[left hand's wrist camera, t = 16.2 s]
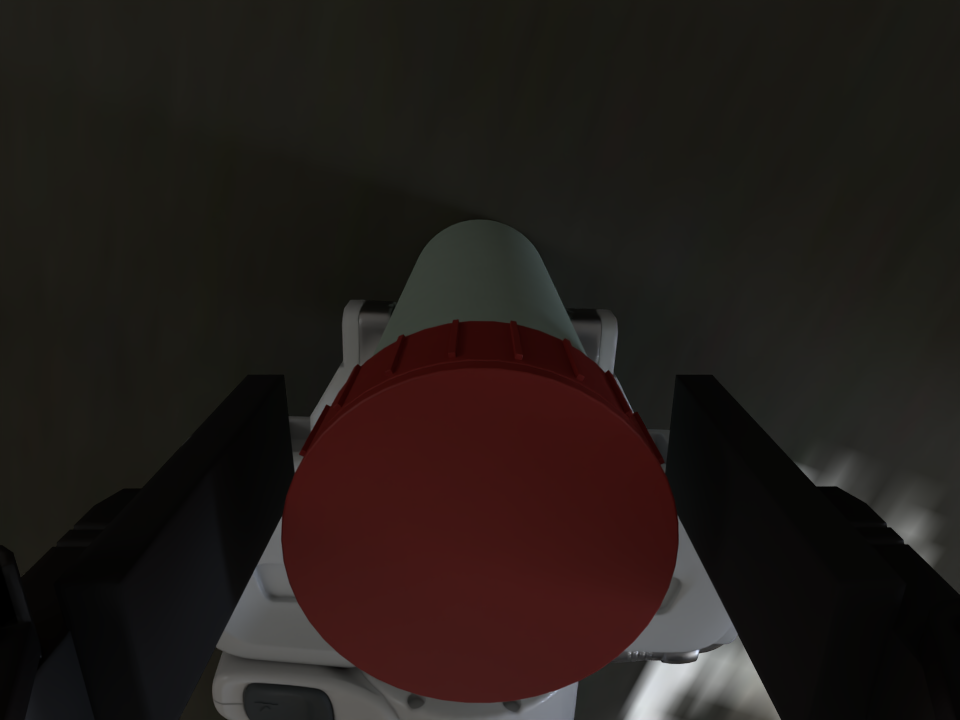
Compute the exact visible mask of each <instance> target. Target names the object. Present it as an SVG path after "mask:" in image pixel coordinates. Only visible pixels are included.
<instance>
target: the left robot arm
mask: <svg viewBox="0 0 960 720" xmlns="http://www.w3.org/2000/svg"><path fill="white" fill-rule="evenodd" d="M294 474H295V469H294V460H293V452H292V443H291V434H290V425H289V416H288V407H287V398H286V389H285V380H284V375H247V376H246V377H245V379H244V380H243V381H242V382H241V383H240V384H239V385H238V386H237V387H236V388H235V389H234V390H233V391H232V393H231V394H230V395H229V396H228V397H227V398H226V399H225V400H224V401H223V402H222V403H221V404H220V405H219V406H218V408H217V409H216V410H215V411H214V412H213V413H212V414H211V415H210V416H209V417H208V418H207V419H206V420H205V421H204V423H203V424H202V425H201V426H200V427H199V428H198V429H197V430H196V431H195V432H194V433H193V434H192V435H191V436H190V438H189V439H188V440H187V441H186V442H185V443H184V444H183V445H182V446H181V447H180V448H179V449H178V450H177V451H176V453H175V454H174V455H173V456H172V457H171V458H170V459H169V460H168V461H167V462H166V463H165V464H164V465H163V467H162V468H161V469H160V470H159V471H158V472H157V473H156V474H155V475H154V476H153V477H152V478H151V479H150V480H149V482H148V483H147V484H146V485H145V486H144V487H143V488H142V489H122V490H121V491H119V492H117V493H116V494H114V495H112V496H110V497H109V498H107V499H105V500H103V501H102V502H100V503H98V504H96V505H95V506H94V507H93V508H91V509H90V510H89V511H88V512H87V513H86V514H85V515H84V516H83V517H82V518H81V519H80V520H79V521H78V522H77V523H76V524H75V525H74V529H73V530H69V531H68V532H67V533H66V534H65V535H64V536H63V537H62V538H61V539H60V540H59V541H58V542H57V546H56V547H52V548H51V549H50V550H49V551H48V552H47V553H46V554H45V555H44V556H43V557H42V558H41V559H40V560H39V561H38V562H37V563H36V564H35V565H34V566H33V567H32V568H31V569H30V570H29V571H27V572H26V573H25V574H24V575H23V576H22V577H20V574H19V571H18V567H17V564H16V560H15V557H14V554H13V552H11V551H10V550H8V549H7V548H6V547H4V546H2V545H0V720H179V718H180V716H181V714H182V712H183V710H184V708H185V706H186V704H187V703H188V701H189V699H190V697H191V695H192V693H193V691H194V689H195V687H196V685H197V683H198V681H199V679H200V677H201V675H202V673H203V671H204V669H205V667H206V665H207V663H208V661H209V659H210V657H211V655H212V653H213V651H214V649H215V647H216V645H217V643H218V641H219V639H220V637H221V635H222V634H223V632H224V630H225V628H226V626H227V624H228V622H229V620H230V618H231V616H232V614H233V612H234V610H235V608H236V606H237V604H238V602H239V600H240V598H241V596H242V594H243V592H244V590H245V588H246V586H247V584H248V582H249V580H250V578H251V576H252V574H253V572H254V570H255V568H256V567H257V565H258V563H259V561H260V559H261V557H262V555H263V553H264V551H265V549H266V547H267V545H268V543H269V541H270V539H271V537H272V535H273V533H274V531H275V529H276V527H277V525H278V523H279V521H280V519H281V517H282V515H283V510H284V505H285V500H286V495H287V493H288V490H289V487H290V485H291V482H292V479H293V477H294ZM665 474H666V476H667V478H668V481H669V484H670V487H671V490H672V493H673V496H674V499H675V504H676V510H677V515H678V517H679V519H680V521H681V523H682V525H683V527H684V529H685V531H686V533H687V535H688V537H689V539H690V541H691V543H692V545H693V547H694V549H695V551H696V553H697V555H698V557H699V559H700V561H701V563H702V565H703V567H704V568H705V570H706V572H707V574H708V576H709V578H710V580H711V582H712V584H713V586H714V588H715V590H716V592H717V594H718V596H719V598H720V600H721V602H722V604H723V606H724V608H725V610H726V612H727V614H728V616H729V618H730V620H731V622H732V624H733V626H734V628H735V630H736V632H737V634H738V636H739V637H740V639H741V641H742V643H743V645H744V647H745V649H746V651H747V653H748V655H749V657H750V659H751V661H752V663H753V665H754V667H755V669H756V671H757V673H758V675H759V677H760V679H761V681H762V683H763V685H764V687H765V689H766V691H767V693H768V695H769V697H770V699H771V701H772V703H773V704H774V706H775V708H776V710H777V712H778V714H779V716H780V718H781V720H960V595H959V594H958V593H957V592H956V591H955V590H954V589H953V588H952V587H951V586H950V585H949V584H948V583H947V582H946V581H945V580H944V579H943V578H942V577H941V576H940V575H939V574H938V573H937V572H936V571H935V570H934V569H933V568H932V567H931V566H930V565H929V564H928V563H927V562H926V561H925V560H924V559H922V558H921V557H920V556H919V555H918V554H917V553H916V552H915V551H914V550H913V549H912V548H911V547H910V546H909V545H908V544H904V540H903V539H902V538H901V537H900V536H899V535H898V534H897V533H896V532H895V531H894V530H893V529H892V528H891V527H887V523H886V522H885V521H884V520H883V519H882V518H881V517H880V516H878V515H877V514H876V513H875V512H874V511H873V510H872V509H871V508H870V507H869V506H868V505H867V504H866V503H864V502H863V501H861V500H859V499H857V498H856V497H854V496H852V495H850V494H849V493H847V492H845V491H843V490H842V489H840V488H838V487H816V486H815V485H814V484H813V483H812V482H811V480H810V479H809V478H808V477H807V476H806V475H805V474H804V473H803V472H802V471H801V470H800V469H799V468H798V467H797V465H796V464H795V463H794V462H793V461H792V460H791V459H790V458H789V457H788V456H787V455H786V454H785V453H784V451H783V450H782V449H781V448H780V447H779V446H778V445H777V444H776V443H775V442H774V441H773V440H772V439H771V438H770V436H769V435H768V434H767V433H766V432H765V431H764V430H763V429H762V428H761V427H760V426H759V425H758V424H757V423H756V421H755V420H754V419H753V418H752V417H751V416H750V415H749V414H748V413H747V412H746V411H745V410H744V409H743V408H742V406H741V405H740V404H739V403H738V402H737V401H736V400H735V399H734V398H733V397H732V396H731V395H730V394H729V393H728V391H727V390H726V389H725V388H724V387H723V386H722V385H721V384H720V383H719V382H718V381H717V380H716V379H715V377H714V376H713V375H676V380H675V389H674V398H673V407H672V416H671V425H670V434H669V443H668V452H667V460H666V469H665Z"/></svg>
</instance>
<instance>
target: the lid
mask: <svg viewBox="0 0 960 720" xmlns="http://www.w3.org/2000/svg"><path fill="white" fill-rule="evenodd" d="M299 455H301V456H303V459H302V461H301V463H300V464H299V466H298V468H297V470H296V472H295V474H294V477H293V479H292V482H291V485H290V487H289V490H288V493H287V495H286V500H285V505H284V510H283V515H282V528H281V544H282V553H283V562H284V566H285V569H286V573H287V577H288V581H289V584H290V586H291V589H292V591H293V593H294V595H295V598H296V600H297V602H298V604H299V606H300V607H301V609H302V611H303V612H304V614H305V616H306V617H307V619H308V621H309V622H310V623H311V625H312V626H313V627H314V628H315V629H316V631H317V632H318V633H319V634H320V636H321V637H322V638H323V639H324V640H325V641H326V642H327V643H328V644H329V645H330V646H331V647H332V648H333V649H334V650H335V651H336V652H337V653H339V654H340V655H341V656H342V657H344V658H345V659H346V660H348V661H349V662H350V663H352V664H353V665H354V666H356V667H357V668H359V669H360V670H362V671H364V672H366V673H367V674H369V675H371V676H372V677H374V678H376V679H378V680H380V681H382V682H385V683H387V684H389V685H391V686H394V687H396V688H398V689H401V690H404V691H408V692H411V693H414V694H417V695H420V696H425V697H429V698H434V699H439V700H444V701H453V702H463V703H496V702H507V701H515V700H521V699H526V698H531V697H536V696H539V695H543V694H546V693H549V692H553V691H556V690H559V689H561V688H564V687H566V686H568V685H571V684H573V683H576V682H578V681H580V680H582V679H584V678H585V677H587V676H589V675H591V674H593V673H594V672H596V671H598V670H600V669H601V668H602V667H604V666H605V665H607V664H608V663H610V662H611V661H612V660H614V659H615V658H617V657H618V656H619V655H620V654H621V653H622V652H623V651H624V650H626V649H627V648H628V647H629V646H630V645H631V644H632V643H633V642H634V641H635V640H636V639H637V638H638V637H639V635H640V634H641V633H642V632H643V631H644V629H645V628H646V627H647V626H648V625H649V623H650V622H651V620H652V619H653V617H654V615H655V614H656V612H657V611H658V609H659V608H660V606H661V604H662V602H663V600H664V597H665V595H666V593H667V591H668V589H669V587H670V583H671V580H672V576H673V573H674V570H675V566H676V560H677V553H678V546H679V521H678V516H677V510H676V504H675V499H674V496H673V493H672V490H671V487H670V484H669V481H668V478H667V476H666V474H665V472H664V470H663V469H662V467H661V464H664V463H665V462H664V459H663V457H662V456H661V454H660V452H659V450H658V448H657V446H656V445H655V443H654V441H653V439H652V437H651V436H650V434H649V432H648V430H647V428H646V427H645V425H644V423H643V421H642V419H641V418H640V416H639V414H638V412H635V413H633V412H632V410H631V408H630V406H629V404H628V402H627V401H626V399H625V397H624V395H623V393H622V391H621V389H620V388H619V386H618V384H617V382H616V380H615V378H614V376H613V375H612V373H611V372H610V371H609V370H608V371H606V372H604V371H603V370H602V369H601V368H600V367H599V366H598V365H597V364H596V363H595V362H594V361H593V360H591V359H590V358H589V357H587V356H586V355H585V354H584V353H582V352H581V351H580V350H578V349H576V348H575V347H573V346H572V345H571V342H570V340H568V339H566V338H564V340H561V339H559V338H556V337H554V336H552V335H549V334H547V333H544V332H542V331H539V330H536V329H532V328H529V327H525V326H521V325H518V324H517V322H516V321H510V323H504V322H496V321H465V322H459V319H456V320H453V322H452V323H447V324H443V325H439V326H435V327H431V328H427V329H424V330H421V331H419V332H416V333H413V334H411V335H408V336H406V337H405V336H404V334H402V335H400V336H398V339H397V341H396V342H394V343H392V344H390V345H389V346H387V347H385V348H383V349H382V350H381V351H379V352H378V353H377V354H375V355H374V356H372V357H371V358H370V359H368V360H367V361H366V362H365V363H364V364H363V365H362V366H360V365H359V364H357V365H356V366H355V367H354V368H353V370H352V372H351V374H350V376H349V378H348V380H347V382H346V383H345V384H344V386H343V387H342V388H341V390H340V391H339V392H338V394H337V396H336V398H335V399H334V401H333V403H332V405H331V406H329V405H326V406H325V407H324V409H323V411H322V413H321V415H320V416H319V418H318V420H317V422H316V424H315V425H314V427H313V429H312V431H311V433H310V435H309V436H308V438H307V440H306V442H305V444H304V445H303V447H302V449H301V451H300V453H299Z"/></svg>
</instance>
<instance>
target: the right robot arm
mask: <svg viewBox="0 0 960 720" xmlns="http://www.w3.org/2000/svg"><path fill="white" fill-rule="evenodd" d="M395 307H396V302H388V301H370V300H350V301H349V303H348V304H347V305H346V307H345V308H344V313H343V321H342V334H343V362H342V363H341V365H340V367H339V368H338V370H337V372H336V374H335V375H334V377H333V379H332V380H331V382H330V384H329V386H328V387H327V389H326V391H325V392H324V394H323V396H322V397H321V399H320V401H319V403H318V404H317V406H316V408H315V409H314V411H313V413H312V414H311V416H310V417H303V416H289V425H290V434H291V443H292V452H293V460H294V469H295V472H296V470H297V468H298V466H299V464H300V463H301V461H302V459H303V456H301V455H299V453H300V451H301V449H302V447H303V445H304V444H305V442H306V440H307V438H308V436H309V435H310V433H311V431H312V429H313V427H314V425H315V424H316V422H317V420H318V418H319V416H320V415H321V413H322V411H323V409H324V407H325V406H326V405H329V406H331V405H332V403H333V401H334V399H335V398H336V396H337V394H338V392H339V391H340V390H341V388H342V387H343V386H344V384H345V383H346V382H347V380H348V378H349V376H350V374H351V372H352V370H353V368H354V367H355V366H356V365H357V364H359V365H360V366H362V365H363V364H364V363H365V362H366V361H367V360H368V359H370V358H371V357H372V356H373V354H374V352H375V350H376V348H377V346H378V343H379V341H380V339H381V337H382V335H383V333H384V331H385V328H386V326H387V324H388V322H389V320H390V318H391V316H392V313H393V311H394V309H395ZM565 310H566V312H567V314H568V316H569V318H570V321H571V323H572V325H573V327H574V329H575V331H576V333H577V336H578V338H579V340H580V342H581V344H582V346H583V348H584V350H585V353H586V355H587V357H589V358H590V359H591V360H593V361H594V362H595V363H596V364H597V365H598V366H599V367H600V368H601V369H602V370H603V371H604V372H606V371H608V370H609V371H610V372H611V373H612V375H613V376H614V378H615V380H616V382H617V384H618V386H619V388H620V389H621V391H622V393H623V395H624V397H625V399H626V401H627V402H628V400H627V398H626V396H625V393H624V391H623V389H622V387H621V385H620V383H619V381H618V379H617V377H616V375H615V373H614V371H613V370H614V362H615V353H616V344H617V336H618V326H617V319H616V317H615V316H614V314H613V313H612V312H611V310H607V309H577V308H566V309H565ZM628 404H629V402H628ZM629 406H630V404H629ZM630 408H631V406H630ZM631 410H632V408H631ZM632 412H633V410H632ZM633 413H634V412H633ZM647 430H648V432H649V434H650V436H651V437H652V439H653V441H654V443H655V445H656V446H657V448H658V450H659V452H660V454H661V456H662V457H663V459H664V462H665V463H664V464H661V467H662V469H663V470H664V472H665V469H666V460H667V452H668V443H669V434H670V430H661V429H647ZM189 438H190V437H189ZM189 438H188V439H189ZM188 439H187V440H188ZM187 440H186V441H187ZM186 441H185V442H186ZM185 442H184V443H185ZM677 516H678V515H677ZM678 521H679V546H678V553H677V560H676V566H675V570H674V573H673V576H672V580H671V583H670V587H669V589H668V591H667V593H666V595H665V597H664V600H663V602H662V604H661V606H660V608H659V609H658V611H657V612H656V614H655V615H654V617H653V619H652V620H651V622H650V623H649V625H648V626H647V627H646V628H645V629H644V631H643V632H642V633H641V634H640V635H639V637H638V638H637V639H636V640H635V641H634V642H633V643H632V644H631V645H630V646H629V647H628V648H627V649H626V650H624V651H623V652H622V653H621V654H620V655H619V656H618V657H617V658H615V659H614V660H612V661H611V662H629V661H636V660H637V661H639V660H661V662H663V663H669V664H684V663H690V662H694V661H696V660H697V658H698V653H704V652H708V651H711V650H714V649H716V648H718V647H720V646H722V645H723V644H728V643H731V642H732V641H734V639H735V638H736V637H737V635H738V634H737V632H736V630H735V628H734V626H733V624H732V622H731V620H730V618H729V616H728V614H727V612H726V610H725V608H724V606H723V604H722V602H721V600H720V598H719V596H718V594H717V592H716V590H715V588H714V586H713V584H712V582H711V580H710V578H709V576H708V574H707V572H706V570H705V568H704V567H703V565H702V563H701V561H700V559H699V557H698V555H697V553H696V551H695V549H694V547H693V545H692V543H691V541H690V539H689V537H688V535H687V533H686V531H685V529H684V527H683V525H682V523H681V521H680V519H679V517H678ZM281 528H282V517H281V519H280V521H279V523H278V525H277V527H276V529H275V531H274V533H273V535H272V537H271V539H270V541H269V543H268V545H267V547H266V549H265V551H264V553H263V555H262V557H261V559H260V561H259V563H258V565H257V567H256V568H255V570H254V572H253V574H252V576H251V578H250V580H249V582H248V584H247V586H246V588H245V590H244V592H243V594H242V596H241V598H240V600H239V602H238V604H237V606H236V608H235V610H234V612H233V614H232V616H231V618H230V620H229V622H228V624H227V626H226V628H225V630H224V632H223V634H222V635H221V637H220V639H219V641H218V643H217V645H216V647H217V648H218V649H220V650H222V651H223V652H222V655H221V658H220V661H219V664H218V667H217V670H216V673H215V677H214V680H213V685H212V694H213V701H214V705H215V707H216V709H217V711H218V712H219V713H220V714H221V715H222V716H223V717H225V718H226V719H228V720H574V713H575V704H576V696H577V688H578V682H576V683H573V684H571V685H568V686H566V687H564V688H561V689H559V690H556V691H553V692H549V693H546V694H543V695H539V696H536V697H531V698H526V699H521V700H515V701H507V702H496V703H463V702H453V701H444V700H439V699H434V698H429V697H425V696H420V695H417V694H414V693H411V692H408V691H404V690H401V689H398V688H396V687H394V686H391V685H389V684H387V683H385V682H382V681H380V680H378V679H376V678H374V677H372V676H371V675H369V674H367V673H366V672H364V671H362V670H360V669H359V668H357V667H356V666H354V665H353V664H352V663H350V662H349V661H348V660H346V659H345V658H344V657H342V656H341V655H340V654H339V653H337V652H336V651H335V650H334V649H333V648H332V647H331V646H330V645H329V644H328V643H327V642H326V641H325V640H324V639H323V638H322V637H321V636H320V634H319V633H318V632H317V631H316V629H315V628H314V627H313V626H312V625H311V623H310V622H309V621H308V619H307V617H306V616H305V614H304V612H303V611H302V609H301V607H300V606H299V604H298V602H297V600H296V598H295V595H294V593H293V591H292V589H291V586H290V584H289V581H288V577H287V573H286V569H285V566H284V562H283V553H282V544H281Z"/></svg>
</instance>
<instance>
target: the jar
mask: <svg viewBox="0 0 960 720" xmlns="http://www.w3.org/2000/svg"><path fill="white" fill-rule="evenodd" d="M456 319H459V322H465V321H496V322H504V323H510V321H516V322H517V324H518V325H521V326H525V327H529V328H532V329H536V330H539V331H542V332H544V333H547V334H549V335H552V336H554V337H556V338H559V339H561V340H564V338H566V339H568V340H570V342H571V345H572V346H573V347H575V348H576V349H578V350H580V351H581V352H582V353H584V354H585V355H586V353H585V350H584V348H583V346H582V344H581V342H580V340H579V338H578V336H577V333H576V331H575V329H574V327H573V325H572V323H571V321H570V318H569V316H568V314H567V312H566V310H565V308H564V306H563V304H562V301H561V299H560V297H559V295H558V293H557V291H556V289H555V286H554V284H553V282H552V280H551V278H550V276H549V274H548V272H547V269H546V267H545V265H544V263H543V261H542V259H541V257H540V255H539V253H538V251H537V250H536V248H535V247H534V245H533V244H532V243H531V242H530V241H529V240H528V239H527V238H526V237H525V236H524V235H523V234H521V233H520V232H518V231H517V230H515V229H514V228H512V227H510V226H508V225H506V224H503V223H500V222H496V221H491V220H479V219H478V220H468V221H464V222H460V223H457V224H454V225H452V226H450V227H448V228H446V229H444V230H443V231H441V232H440V233H438V234H437V235H436V236H435V237H434V238H432V239H431V240H430V241H429V243H428V244H427V245H426V246H425V247H424V249H423V251H422V252H421V254H420V256H419V258H418V260H417V262H416V264H415V266H414V268H413V271H412V273H411V275H410V277H409V279H408V281H407V283H406V286H405V288H404V290H403V292H402V294H401V296H400V298H399V301H398V303H397V305H396V307H395V309H394V311H393V313H392V316H391V318H390V320H389V322H388V324H387V326H386V328H385V331H384V333H383V335H382V337H381V339H380V341H379V343H378V346H377V348H376V350H375V352H374V354H373V356H374V355H375V354H377V353H378V352H379V351H381V350H382V349H383V348H385V347H387V346H389V345H390V344H392V343H394V342H396V341H397V339H398V336H400V335H402V334H404V336H405V337H406V336H408V335H411V334H413V333H416V332H419V331H421V330H424V329H427V328H431V327H435V326H439V325H443V324H447V323H452V322H453V320H456ZM586 356H587V355H586Z"/></svg>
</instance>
